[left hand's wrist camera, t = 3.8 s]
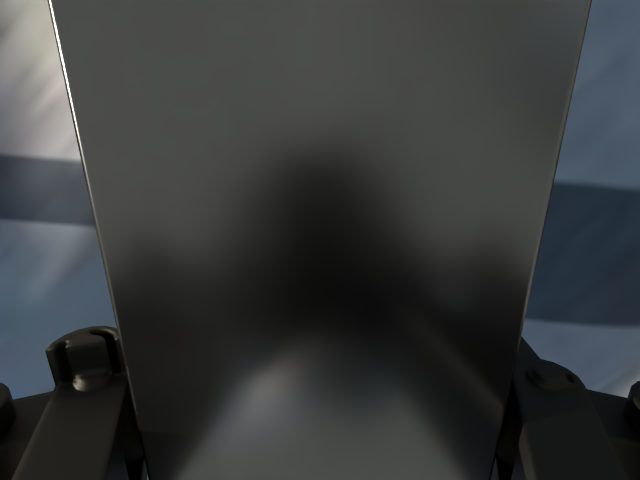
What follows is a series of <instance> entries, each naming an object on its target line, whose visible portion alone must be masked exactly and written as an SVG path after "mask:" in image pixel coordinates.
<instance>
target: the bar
mask: <svg viewBox="0 0 640 480" xmlns="http://www.w3.org/2000/svg"><path fill="white" fill-rule="evenodd" d="M591 2H592V0H48V5H49V9H50V14H51V19H52V24H53V28H54V33H55V38H56V43H57V47H58V52H59V57H60V61H61V66H62V71H63V76H64V80H65V85H66V90H67V95H68V99H69V104H70V109H71V113H72V118H73V123H74V128H75V132H76V137H77V142H78V147H79V151H80V156H81V161H82V166H83V170H84V175H85V180H86V184H87V189H88V194H89V199H90V203H91V208H92V213H93V218H94V222H95V227H96V232H97V236H98V241H99V246H100V251H101V255H102V260H103V265H104V270H105V274H106V279H107V284H108V289H109V293H110V298H111V303H112V307H113V312H114V317H115V322H116V326H117V331H118V336H119V341H120V345H121V350H122V355H123V359H124V364H125V369H126V374H127V378H128V383H129V388H130V393H131V397H132V402H133V407H134V412H135V416H136V421H137V426H138V430H139V435H140V440H141V445H142V449H143V454H144V459H145V464H146V468H147V473H148V478H149V480H491V476H492V471H493V466H494V461H495V457H496V452H497V447H498V443H499V438H500V433H501V428H502V424H503V419H504V414H505V409H506V405H507V400H508V395H509V390H510V386H511V381H512V376H513V372H514V367H515V362H516V357H517V353H518V348H519V343H520V338H521V334H522V329H523V324H524V319H525V315H526V310H527V305H528V301H529V296H530V291H531V286H532V282H533V277H534V272H535V267H536V263H537V258H538V253H539V248H540V244H541V239H542V234H543V230H544V225H545V220H546V215H547V211H548V206H549V201H550V196H551V192H552V187H553V182H554V177H555V173H556V168H557V163H558V159H559V154H560V149H561V144H562V140H563V135H564V130H565V125H566V121H567V116H568V111H569V106H570V102H571V97H572V92H573V88H574V83H575V78H576V73H577V69H578V64H579V59H580V54H581V50H582V45H583V40H584V35H585V31H586V26H587V21H588V17H589V12H590V7H591Z"/></svg>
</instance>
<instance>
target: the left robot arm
mask: <svg viewBox="0 0 640 480" xmlns="http://www.w3.org/2000/svg"><path fill="white" fill-rule="evenodd" d="M46 355H47V358H48V362H49V365H50V368H51V372H52V375H53V379H54V382H55V385H56V386H55V388H54V390H53V391H51V392H47V393H43V394H38V395H33V396H29V397H24V398H19V399H14V400H13V399H12V396H11V393H10V390H9V388H8V387H7V386H6V385H4V384H3V383H0V480H147V468H146V464H145V459H144V454H143V449H142V445H141V440H140V435H139V430H138V426H137V421H136V416H135V412H134V407H133V402H132V397H131V393H130V388H129V383H128V378H127V374H126V369H125V364H124V359H123V355H122V350H121V345H120V341H119V336H118V331H117V329H116V328H113V327H108V326H94V327H88V328H84V329H79V330H76V331H74V332H71V333H69V334H66V335H64V336H62V337H61V338H59V339H58V340H56V341H55V342H53V343H52V344H51V345H50V346H49V347H48V348H47V349H46ZM491 480H640V381H638V382H636V383H635V384H634V385H632V386H631V389H630V392H629V395H628V398H625V397H620V396H615V395H610V394H606V393H601V392H596V391H592V390H588V389H586V387H585V385H584V384H583V383H582V381H581V380H580V379H579V377H578V376H576V375H575V374H574V373H572V372H571V371H570V370H568V369H567V368H565V367H562V366H560V365H558V364H556V363H554V362H550V361H546V360H543V359H540V358H539V357H538V356H537V354H536V353H535V352H534V351H533V350H532V348H531V347H530V346H529V345H528V344H527V342H526V341H525V340H524V339H523V338H522V336H521V338H520V343H519V348H518V353H517V357H516V362H515V367H514V372H513V376H512V381H511V386H510V390H509V395H508V400H507V405H506V409H505V414H504V419H503V424H502V428H501V433H500V438H499V443H498V447H497V452H496V457H495V461H494V466H493V471H492V476H491Z"/></svg>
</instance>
